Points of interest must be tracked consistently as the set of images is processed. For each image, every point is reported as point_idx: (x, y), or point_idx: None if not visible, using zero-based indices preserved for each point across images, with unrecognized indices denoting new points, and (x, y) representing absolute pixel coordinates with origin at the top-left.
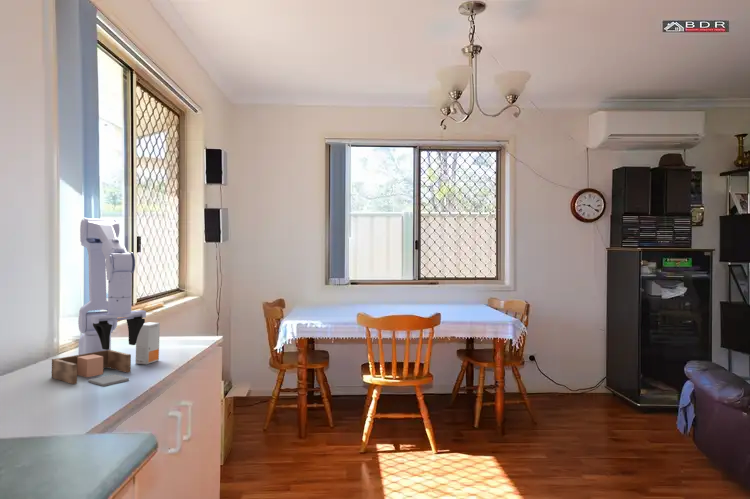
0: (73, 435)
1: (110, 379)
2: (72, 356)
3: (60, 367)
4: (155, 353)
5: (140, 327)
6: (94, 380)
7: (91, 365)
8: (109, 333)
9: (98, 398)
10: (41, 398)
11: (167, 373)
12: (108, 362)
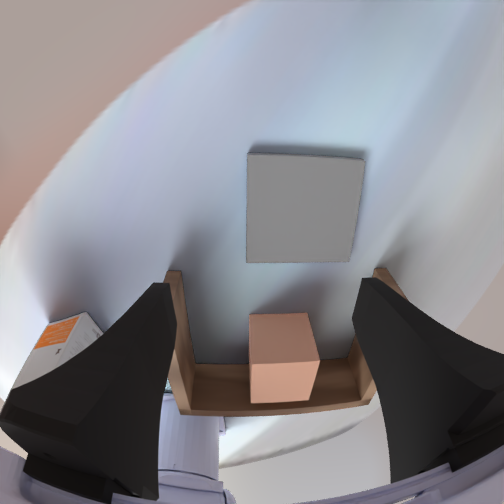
0: None
1: (306, 200)
2: (315, 407)
3: None
4: (47, 338)
5: (72, 365)
6: (347, 235)
7: (297, 341)
8: (434, 343)
9: (448, 48)
10: (496, 199)
11: (77, 140)
12: (193, 374)
